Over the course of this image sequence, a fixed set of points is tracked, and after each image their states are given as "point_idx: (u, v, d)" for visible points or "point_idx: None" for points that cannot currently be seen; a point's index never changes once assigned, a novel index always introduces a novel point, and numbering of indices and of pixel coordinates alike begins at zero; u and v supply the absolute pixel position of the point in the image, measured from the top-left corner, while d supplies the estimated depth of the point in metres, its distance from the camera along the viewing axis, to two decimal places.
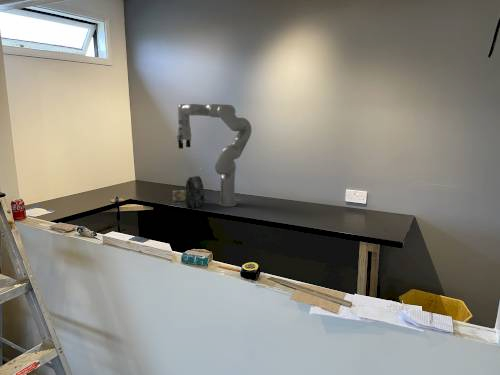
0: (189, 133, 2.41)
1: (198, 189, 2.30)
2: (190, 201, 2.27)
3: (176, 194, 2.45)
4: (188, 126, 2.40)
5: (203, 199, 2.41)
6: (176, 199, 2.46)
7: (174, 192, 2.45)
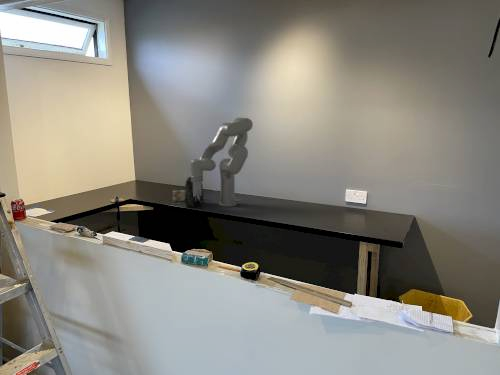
0: (193, 190, 2.23)
1: None
2: (189, 201, 2.28)
3: (176, 194, 2.45)
4: (193, 183, 2.22)
5: (202, 199, 2.42)
6: (176, 199, 2.46)
7: (174, 192, 2.45)
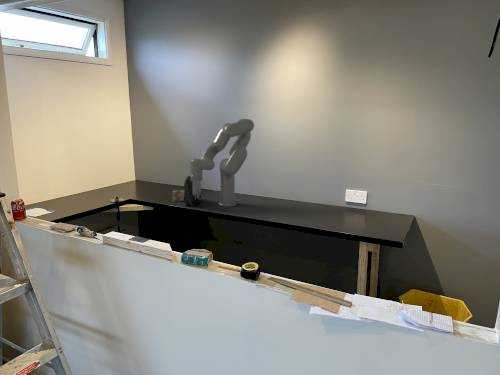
0: (192, 189, 2.26)
1: None
2: (189, 199, 2.31)
3: (176, 194, 2.45)
4: (192, 181, 2.26)
5: (200, 197, 2.46)
6: (176, 199, 2.46)
7: (174, 192, 2.45)
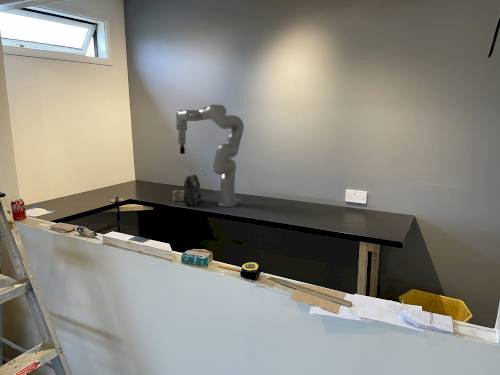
0: (178, 138, 2.47)
1: (196, 187, 2.35)
2: (189, 199, 2.31)
3: (176, 194, 2.45)
4: (178, 131, 2.47)
5: (200, 197, 2.46)
6: (176, 199, 2.46)
7: (174, 192, 2.45)
